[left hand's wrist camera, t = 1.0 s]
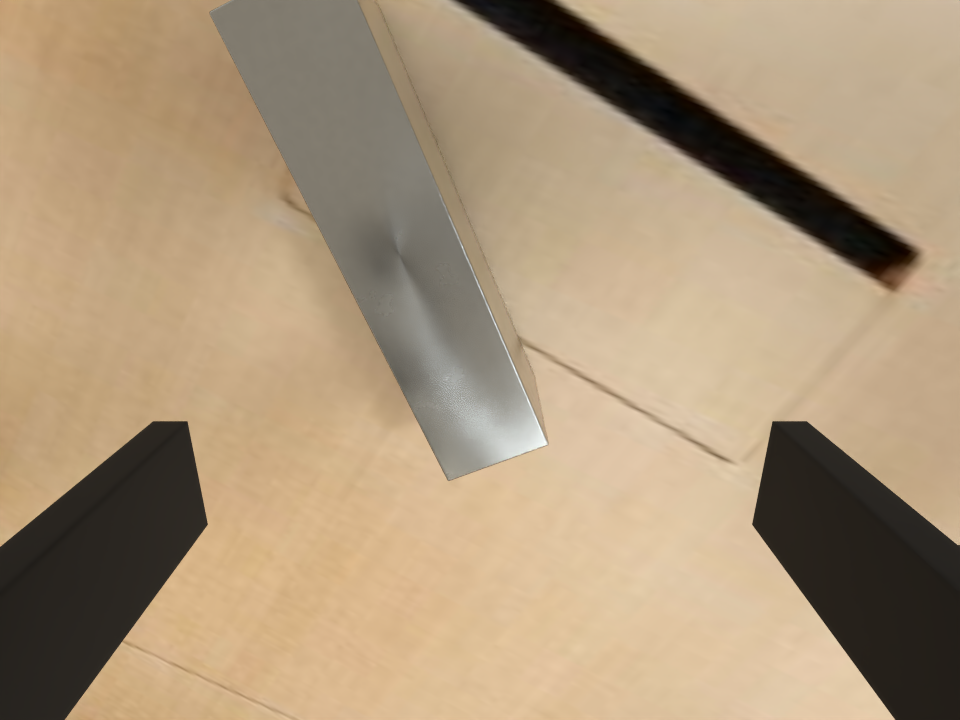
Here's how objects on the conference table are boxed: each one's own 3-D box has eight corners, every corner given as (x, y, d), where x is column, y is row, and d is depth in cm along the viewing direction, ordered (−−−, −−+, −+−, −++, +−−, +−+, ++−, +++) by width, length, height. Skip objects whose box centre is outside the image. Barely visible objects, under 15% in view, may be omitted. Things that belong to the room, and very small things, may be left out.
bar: (286, 51, 28) (207, 11, 20) (378, 4, 28) (333, -56, 20) (457, 407, 35) (447, 481, 27) (535, 377, 34) (549, 445, 26)
